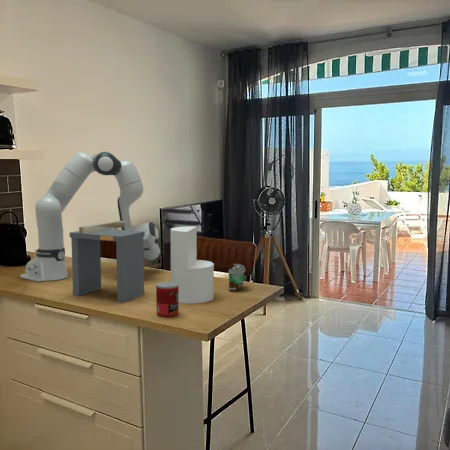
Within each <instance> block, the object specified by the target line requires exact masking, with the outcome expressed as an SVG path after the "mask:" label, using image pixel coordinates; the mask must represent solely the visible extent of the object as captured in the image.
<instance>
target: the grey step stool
mask: <svg viewBox="0 0 450 450" xmlns="http://www.w3.org/2000/svg"><path fill="white" fill-rule="evenodd" d="M143 237H145V232H142V231H128V230H122V229H118V230H114V229H110V230H104V231H98V232H93V233H87V234H82V233H79V230H76V231H71V232H70V231H69V238H71V265H72V266H71V267H72V295H73V296H76V297H80V296H83V295H86V294H88V293H92V292H94V291H97V290H101V289H102V269H101V268H102V266H101V264H102V263H101V262H102V261H101V259H102V258H101V257H102V256H101V241H105V242H106V241H109V242H116V243H115V244H116V288H117V289H116V290H117V291H116V294H117V298H116V299H117V302H118V303H123V304H124V303H127V302H130V301H131V300H133V299H135V298H138V297H140V296H142V295H143V296H144V295H145V269H144V268H145V265H144V263H145V258H144V246H143Z"/></svg>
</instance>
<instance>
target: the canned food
mask: <svg viewBox="0 0 450 450" xmlns="http://www.w3.org/2000/svg"><path fill="white" fill-rule="evenodd" d="M155 290H156V291H155V292H156V293H155V294H156V295H155V296H156V297H155V299H156V300H155V301H156V303H155V304H156V308H155V309H156V315H157V316H158V317H160V318H161V317H162V318H174V317H176V316H178V315H179V302H178V283H176V282H171V281H160V282H157V283H156V286H155Z"/></svg>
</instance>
